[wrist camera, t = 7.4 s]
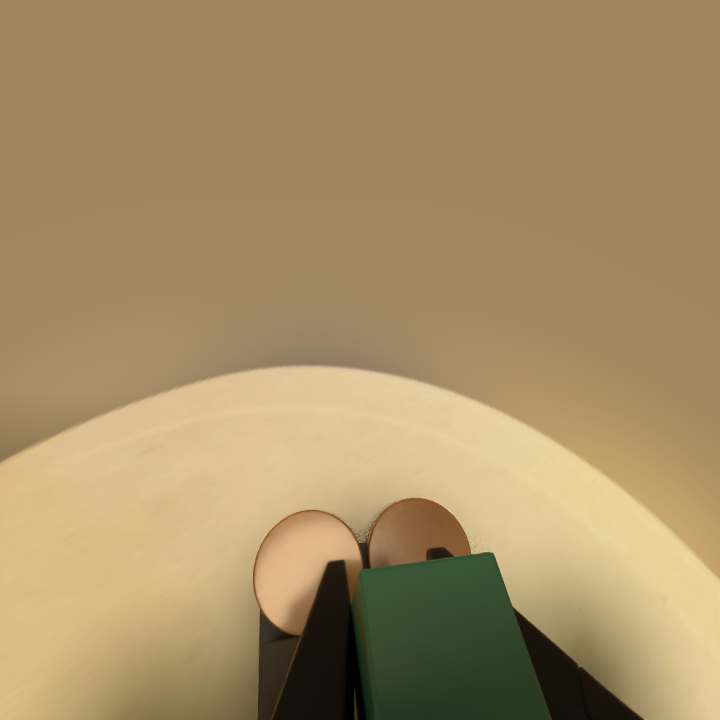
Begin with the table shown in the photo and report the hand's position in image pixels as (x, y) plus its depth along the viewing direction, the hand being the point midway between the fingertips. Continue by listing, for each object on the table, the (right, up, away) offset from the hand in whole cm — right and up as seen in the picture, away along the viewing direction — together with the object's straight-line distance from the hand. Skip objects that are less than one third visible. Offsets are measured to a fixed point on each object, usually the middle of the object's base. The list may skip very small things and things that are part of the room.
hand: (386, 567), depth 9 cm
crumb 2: (+2, -3, +6) cm, 7 cm away
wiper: (0, -6, +4) cm, 7 cm away
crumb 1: (-3, -3, +5) cm, 7 cm away
